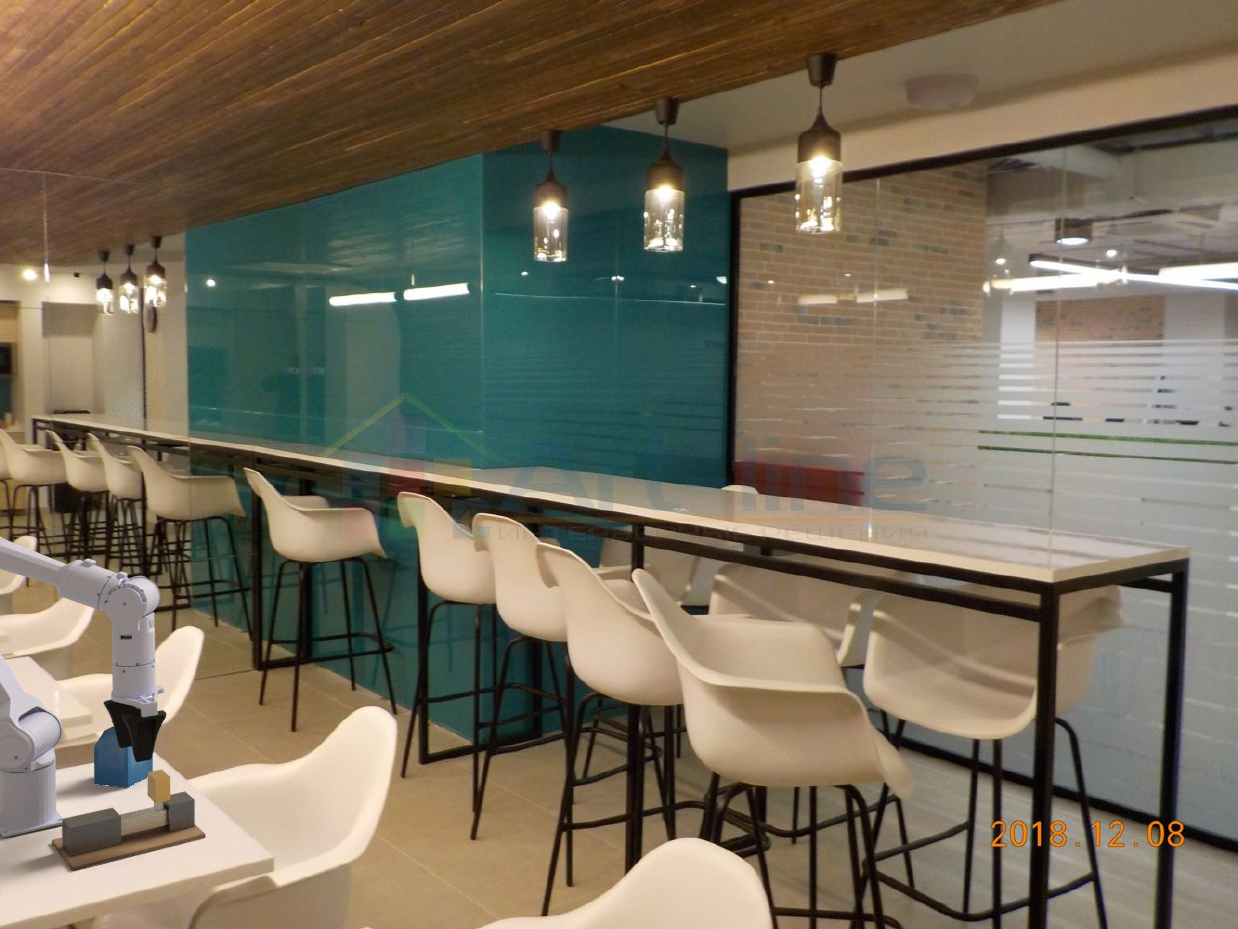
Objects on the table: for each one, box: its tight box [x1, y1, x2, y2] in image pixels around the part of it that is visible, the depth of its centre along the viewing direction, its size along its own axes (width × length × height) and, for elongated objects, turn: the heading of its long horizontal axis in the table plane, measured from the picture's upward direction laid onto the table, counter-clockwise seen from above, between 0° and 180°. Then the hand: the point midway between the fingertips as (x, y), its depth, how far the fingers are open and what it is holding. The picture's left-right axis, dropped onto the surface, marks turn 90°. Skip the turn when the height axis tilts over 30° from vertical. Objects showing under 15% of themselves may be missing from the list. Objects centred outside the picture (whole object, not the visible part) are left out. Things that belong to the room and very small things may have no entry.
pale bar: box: [119, 769, 171, 836], centre depth 149 cm, size 4×10×7 cm, turn 131°
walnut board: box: [51, 824, 206, 872], centre depth 148 cm, size 11×17×1 cm, turn 131°
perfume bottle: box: [93, 721, 154, 789], centre depth 171 cm, size 6×6×12 cm
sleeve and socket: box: [61, 791, 196, 857], centre depth 148 cm, size 4×16×4 cm, turn 131°
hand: (135, 753), depth 154 cm, fingers open, 7 cm apart
